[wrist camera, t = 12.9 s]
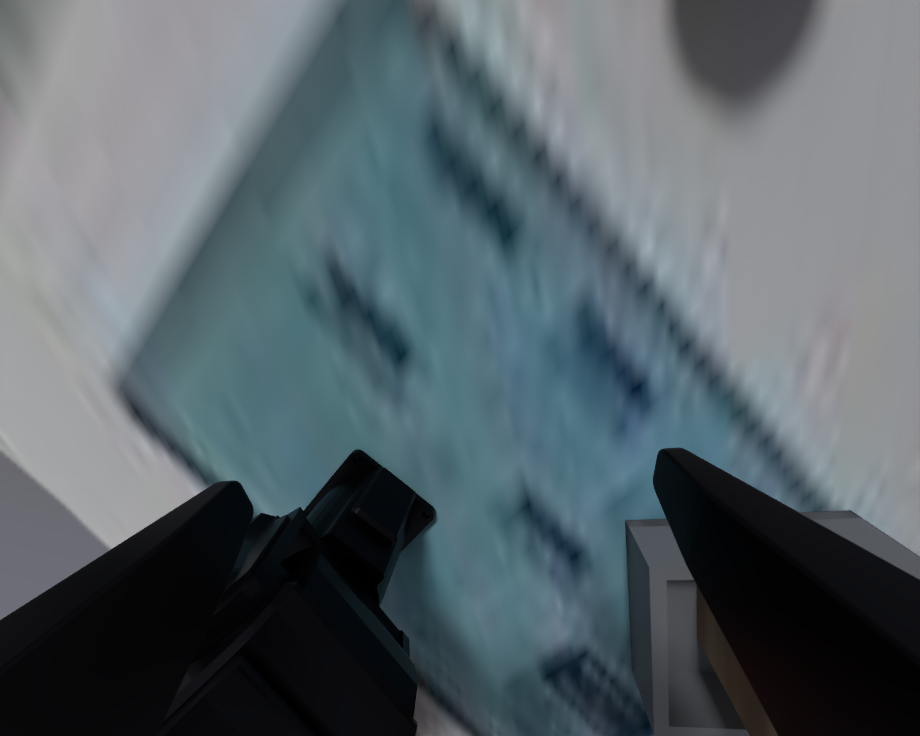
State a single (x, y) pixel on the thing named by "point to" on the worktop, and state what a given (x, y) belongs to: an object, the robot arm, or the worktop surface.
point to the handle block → (730, 672)
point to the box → (675, 625)
